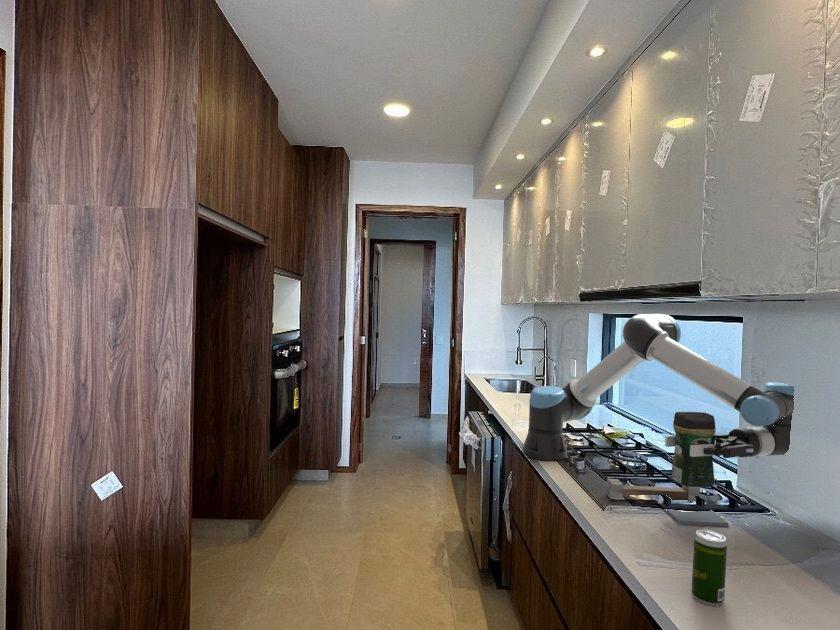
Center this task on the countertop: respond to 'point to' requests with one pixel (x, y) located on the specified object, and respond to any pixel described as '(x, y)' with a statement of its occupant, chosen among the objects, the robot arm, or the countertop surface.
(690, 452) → the robot arm
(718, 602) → the beer can
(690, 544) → the countertop surface
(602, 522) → the countertop surface
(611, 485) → the walnut handrail
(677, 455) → the coffee jar
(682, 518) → the slate end pad
